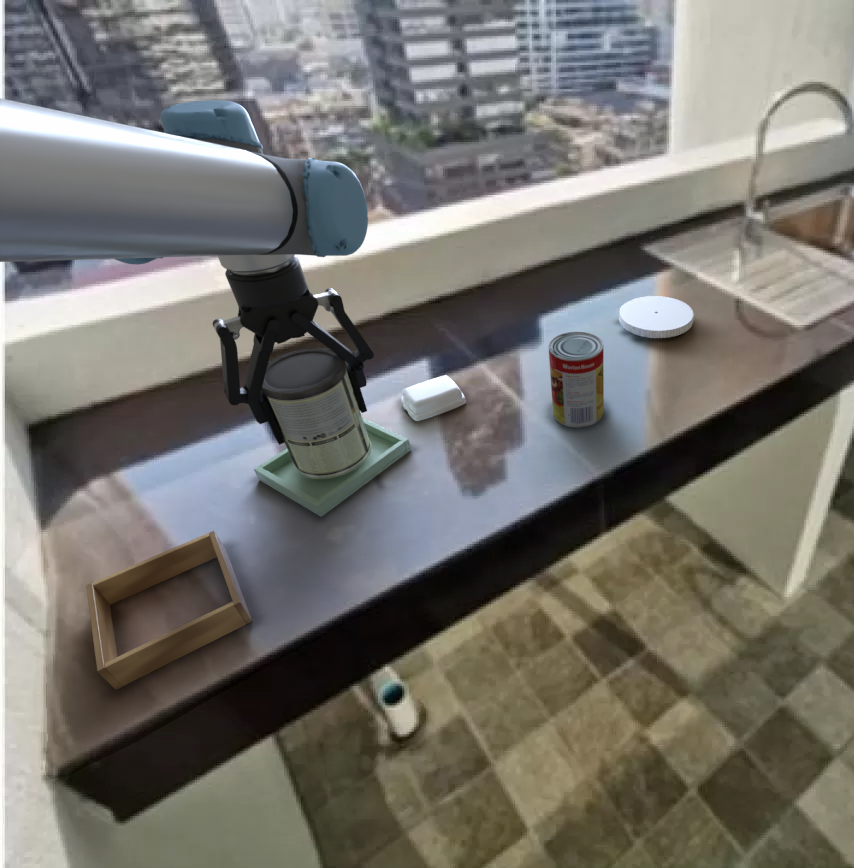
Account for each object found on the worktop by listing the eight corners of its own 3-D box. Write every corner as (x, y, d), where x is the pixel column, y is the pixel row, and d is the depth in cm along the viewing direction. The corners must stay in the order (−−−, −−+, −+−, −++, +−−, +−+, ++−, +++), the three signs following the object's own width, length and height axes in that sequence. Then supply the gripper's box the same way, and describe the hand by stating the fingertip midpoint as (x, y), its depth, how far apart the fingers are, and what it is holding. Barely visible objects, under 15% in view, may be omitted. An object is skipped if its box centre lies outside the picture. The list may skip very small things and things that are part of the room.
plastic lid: (611, 338, 111) (612, 326, 110) (627, 304, 122) (627, 292, 120) (687, 346, 109) (688, 334, 107) (696, 311, 119) (697, 299, 118)
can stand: (116, 690, 59) (96, 671, 57) (102, 604, 67) (85, 584, 65) (252, 621, 65) (240, 602, 63) (225, 549, 73) (214, 530, 71)
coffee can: (278, 460, 83) (239, 374, 74) (342, 423, 89) (313, 339, 80) (323, 491, 78) (287, 402, 69) (387, 449, 85) (362, 363, 76)
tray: (321, 517, 77) (316, 506, 76) (258, 480, 82) (253, 469, 81) (411, 449, 87) (408, 439, 86) (350, 420, 93) (347, 410, 91)
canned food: (594, 393, 98) (593, 327, 90) (610, 421, 92) (610, 353, 84) (547, 402, 96) (542, 336, 88) (560, 432, 90) (556, 363, 82)
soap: (414, 423, 92) (411, 408, 90) (399, 401, 96) (395, 386, 94) (469, 403, 96) (466, 388, 94) (451, 383, 100) (448, 368, 98)
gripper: (350, 228, 74) (391, 380, 88) (137, 278, 63) (222, 441, 77) (374, 247, 69) (413, 404, 83) (147, 304, 58) (236, 473, 72)
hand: (321, 422), depth 80 cm, fingers closed on coffee can, 10 cm apart
